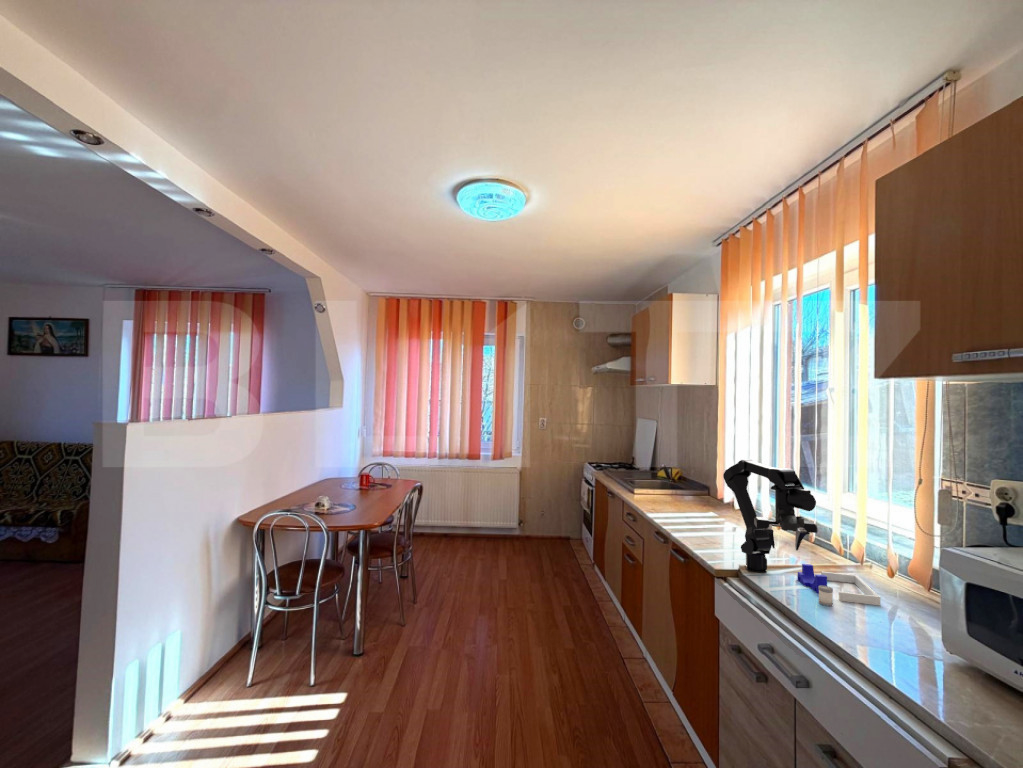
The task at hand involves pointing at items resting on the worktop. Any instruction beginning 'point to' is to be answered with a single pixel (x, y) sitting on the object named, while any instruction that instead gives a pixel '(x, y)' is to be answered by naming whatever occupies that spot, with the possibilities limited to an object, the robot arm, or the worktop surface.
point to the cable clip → (811, 578)
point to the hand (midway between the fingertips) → (785, 549)
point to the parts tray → (853, 597)
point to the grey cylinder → (825, 595)
